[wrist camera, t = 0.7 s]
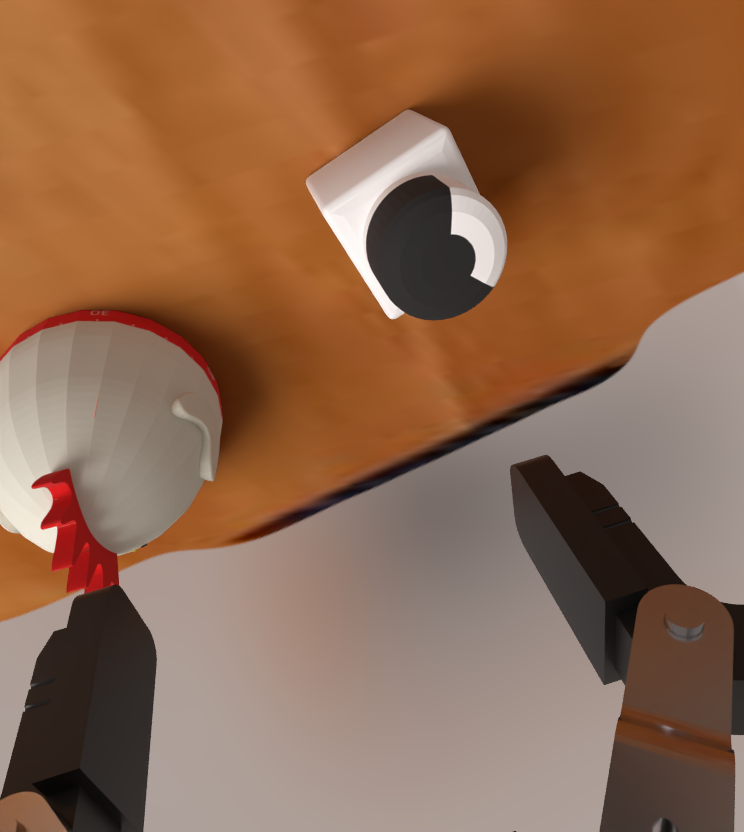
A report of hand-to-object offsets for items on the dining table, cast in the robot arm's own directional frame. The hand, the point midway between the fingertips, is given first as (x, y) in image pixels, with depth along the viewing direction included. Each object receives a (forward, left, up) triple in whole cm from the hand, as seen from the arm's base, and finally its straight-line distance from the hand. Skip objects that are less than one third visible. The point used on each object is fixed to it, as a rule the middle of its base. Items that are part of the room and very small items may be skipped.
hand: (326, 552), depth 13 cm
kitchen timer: (+10, -12, -29) cm, 33 cm away
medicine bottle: (+1, +8, -29) cm, 30 cm away
